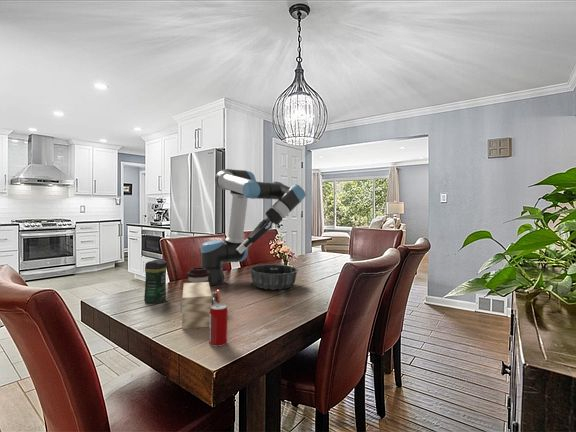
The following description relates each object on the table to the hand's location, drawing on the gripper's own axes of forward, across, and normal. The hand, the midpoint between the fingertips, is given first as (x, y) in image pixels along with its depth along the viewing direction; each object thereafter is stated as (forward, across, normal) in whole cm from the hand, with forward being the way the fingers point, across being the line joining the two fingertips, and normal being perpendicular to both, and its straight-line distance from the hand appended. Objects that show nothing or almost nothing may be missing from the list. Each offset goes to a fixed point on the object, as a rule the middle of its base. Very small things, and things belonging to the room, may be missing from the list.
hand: (238, 251), depth 135 cm
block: (+29, -8, -5) cm, 31 cm away
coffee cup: (+29, +13, -6) cm, 32 cm away
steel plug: (+27, -14, -3) cm, 30 cm away
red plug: (+25, -3, -5) cm, 25 cm away
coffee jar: (+41, +18, +7) cm, 46 cm away
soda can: (+25, -34, -9) cm, 43 cm away
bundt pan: (0, +33, -34) cm, 47 cm away
